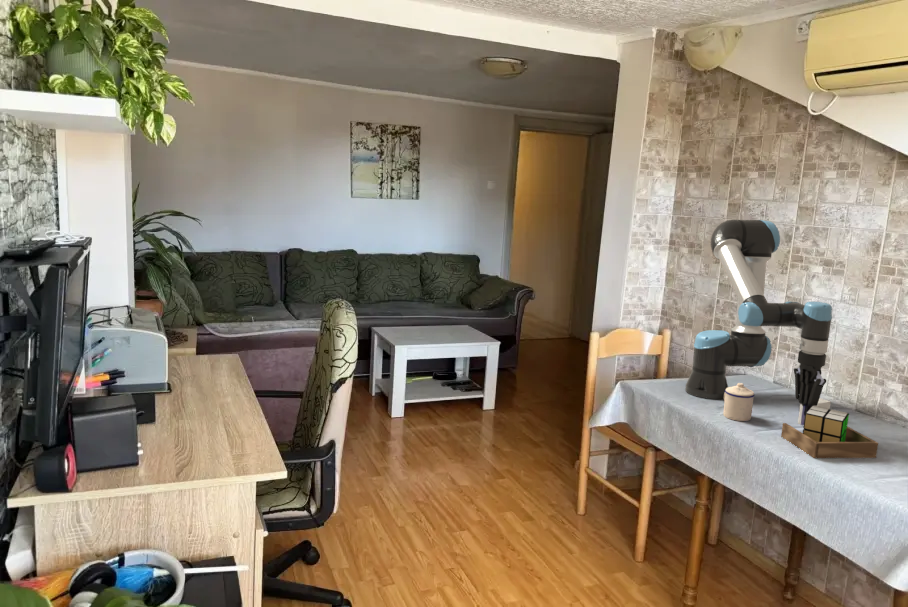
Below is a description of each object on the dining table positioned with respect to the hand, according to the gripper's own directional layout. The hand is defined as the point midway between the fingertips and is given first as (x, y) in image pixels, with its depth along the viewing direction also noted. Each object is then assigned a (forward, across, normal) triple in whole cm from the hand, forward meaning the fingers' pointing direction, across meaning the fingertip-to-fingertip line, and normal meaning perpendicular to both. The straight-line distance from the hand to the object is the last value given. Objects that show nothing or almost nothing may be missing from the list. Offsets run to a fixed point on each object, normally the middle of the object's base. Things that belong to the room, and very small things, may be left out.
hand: (803, 424), depth 203 cm
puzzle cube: (+3, +10, 0) cm, 10 cm away
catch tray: (+3, +12, 0) cm, 12 cm away
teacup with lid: (+3, -15, -14) cm, 21 cm away
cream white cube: (+3, -14, +14) cm, 20 cm away
